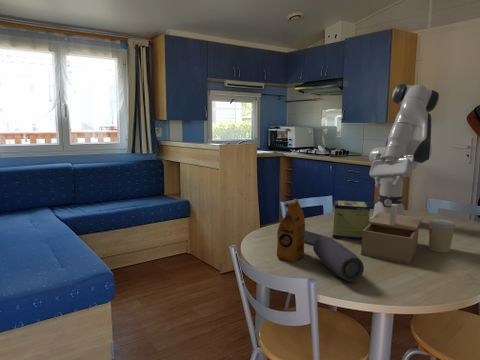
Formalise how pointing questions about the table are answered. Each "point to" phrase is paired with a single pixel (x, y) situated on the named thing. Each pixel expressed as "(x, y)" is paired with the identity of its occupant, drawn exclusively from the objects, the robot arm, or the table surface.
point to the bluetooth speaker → (338, 258)
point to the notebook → (311, 238)
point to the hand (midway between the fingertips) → (386, 186)
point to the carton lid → (396, 220)
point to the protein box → (350, 219)
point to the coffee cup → (440, 235)
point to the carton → (389, 243)
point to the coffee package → (291, 233)
